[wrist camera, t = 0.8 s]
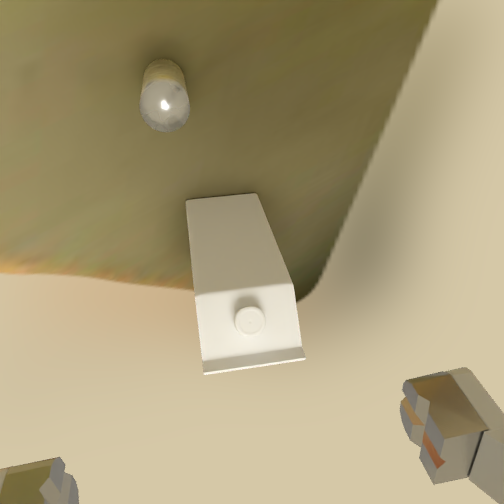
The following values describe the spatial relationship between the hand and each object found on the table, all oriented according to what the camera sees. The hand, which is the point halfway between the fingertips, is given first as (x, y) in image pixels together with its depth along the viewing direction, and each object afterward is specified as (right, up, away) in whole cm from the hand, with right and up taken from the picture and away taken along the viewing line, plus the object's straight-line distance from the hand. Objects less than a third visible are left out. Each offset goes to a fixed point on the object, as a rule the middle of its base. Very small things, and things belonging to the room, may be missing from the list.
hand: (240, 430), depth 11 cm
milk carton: (-3, +7, +36) cm, 36 cm away
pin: (-7, +19, +27) cm, 33 cm away
